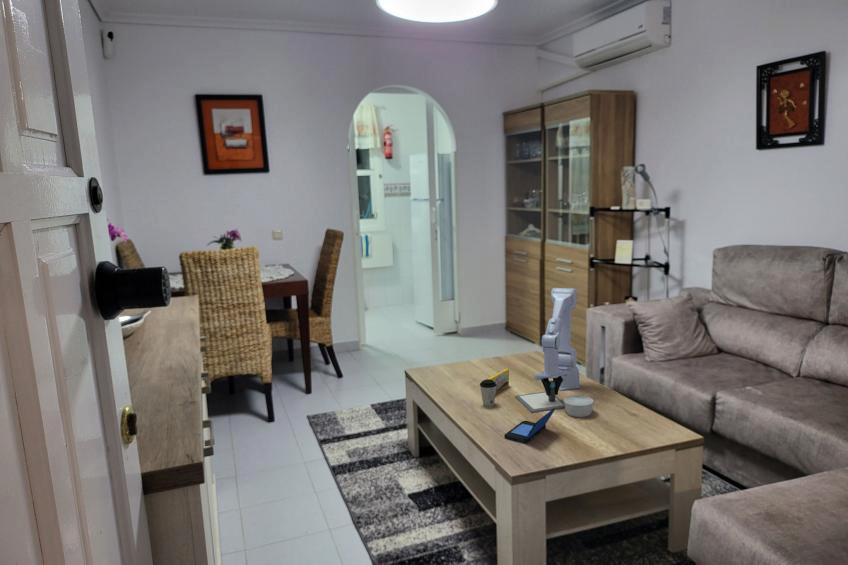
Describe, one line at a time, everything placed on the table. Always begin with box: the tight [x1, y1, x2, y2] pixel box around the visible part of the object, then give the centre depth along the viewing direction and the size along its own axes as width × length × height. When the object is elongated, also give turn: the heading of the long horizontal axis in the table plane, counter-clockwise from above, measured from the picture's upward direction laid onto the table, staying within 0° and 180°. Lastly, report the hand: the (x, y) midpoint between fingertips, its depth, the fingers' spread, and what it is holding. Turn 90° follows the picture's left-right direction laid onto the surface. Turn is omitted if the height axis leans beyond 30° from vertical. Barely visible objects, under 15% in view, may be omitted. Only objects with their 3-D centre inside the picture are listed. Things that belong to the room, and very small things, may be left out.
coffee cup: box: [479, 378, 496, 408], centre depth 236 cm, size 7×7×10 cm
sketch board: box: [514, 391, 565, 414], centre depth 237 cm, size 16×18×1 cm
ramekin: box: [563, 394, 594, 418], centre depth 224 cm, size 11×11×5 cm
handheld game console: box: [504, 408, 556, 445], centre depth 207 cm, size 16×13×9 cm
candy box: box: [487, 368, 510, 395], centre depth 251 cm, size 16×2×8 cm, turn 143°
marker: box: [548, 380, 556, 402], centre depth 235 cm, size 3×3×8 cm
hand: (551, 394), depth 235 cm, fingers closed on marker, 3 cm apart
